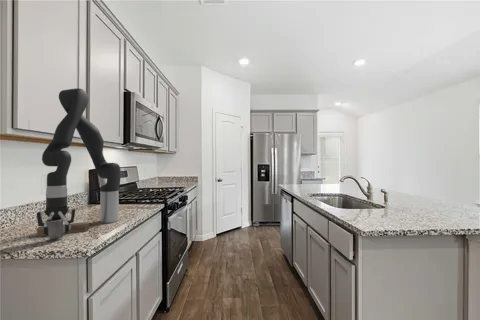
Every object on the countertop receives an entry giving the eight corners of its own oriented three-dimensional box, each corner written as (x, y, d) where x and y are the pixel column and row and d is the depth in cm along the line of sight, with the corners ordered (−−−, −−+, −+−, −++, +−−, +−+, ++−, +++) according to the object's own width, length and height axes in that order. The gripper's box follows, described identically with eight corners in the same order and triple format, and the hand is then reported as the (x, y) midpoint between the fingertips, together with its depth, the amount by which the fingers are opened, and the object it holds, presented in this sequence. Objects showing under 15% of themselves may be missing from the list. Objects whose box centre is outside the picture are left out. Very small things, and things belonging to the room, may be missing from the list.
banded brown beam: (38, 234, 116) (38, 226, 116) (88, 228, 127) (88, 221, 127) (36, 236, 113) (36, 228, 113) (88, 230, 123) (88, 223, 123)
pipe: (74, 232, 117) (74, 215, 117) (55, 240, 105) (55, 221, 105) (60, 232, 117) (60, 215, 117) (40, 240, 104) (40, 221, 104)
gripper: (76, 193, 117) (76, 229, 117) (37, 195, 109) (37, 234, 109) (75, 195, 110) (75, 233, 110) (34, 198, 103) (34, 238, 103)
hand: (56, 233), depth 110 cm, fingers closed on pipe, 6 cm apart
